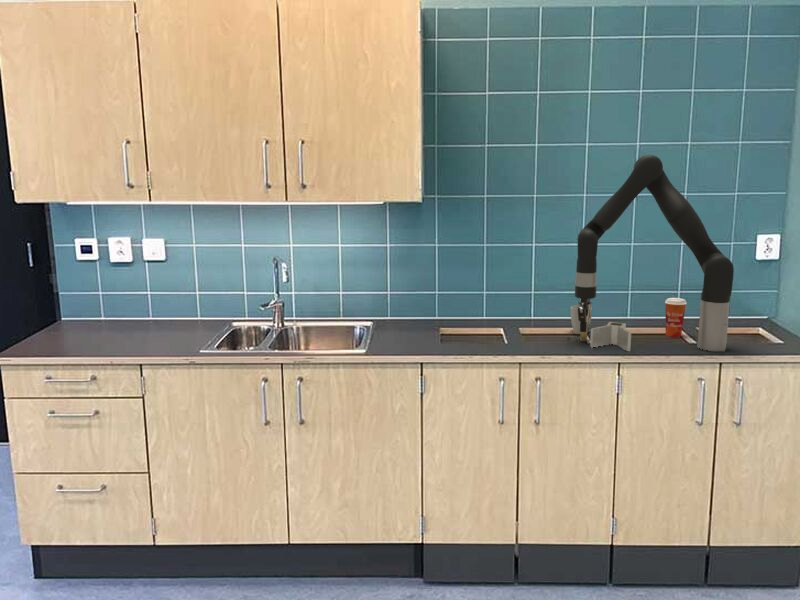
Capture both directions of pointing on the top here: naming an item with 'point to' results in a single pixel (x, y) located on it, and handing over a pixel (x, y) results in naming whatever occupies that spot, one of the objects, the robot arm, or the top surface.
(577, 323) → the cup
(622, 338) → the grey finned stand
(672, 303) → the paper cup
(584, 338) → the pin
